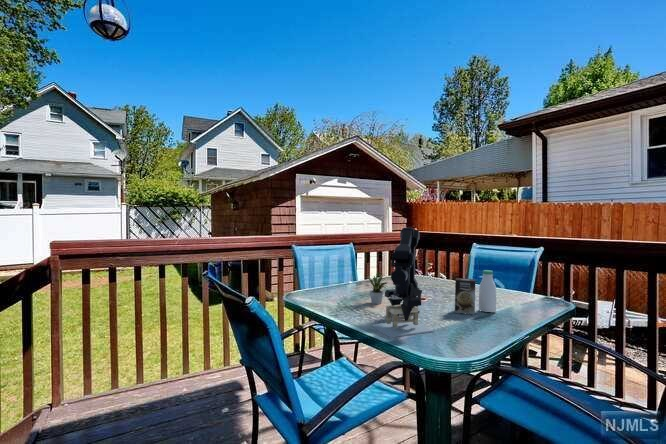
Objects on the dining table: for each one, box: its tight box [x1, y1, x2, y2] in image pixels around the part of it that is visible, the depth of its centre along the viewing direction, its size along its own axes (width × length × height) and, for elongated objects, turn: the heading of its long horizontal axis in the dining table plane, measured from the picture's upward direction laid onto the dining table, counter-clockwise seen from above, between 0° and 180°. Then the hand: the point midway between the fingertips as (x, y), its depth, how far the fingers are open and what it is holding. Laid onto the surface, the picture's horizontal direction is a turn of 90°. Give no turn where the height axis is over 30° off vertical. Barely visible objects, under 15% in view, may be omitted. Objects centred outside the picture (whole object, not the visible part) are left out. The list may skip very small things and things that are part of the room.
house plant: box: [364, 273, 389, 305], centre depth 180 cm, size 14×14×16 cm
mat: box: [371, 321, 435, 339], centre depth 139 cm, size 20×15×1 cm
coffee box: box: [454, 277, 476, 315], centre depth 164 cm, size 9×6×16 cm
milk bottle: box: [478, 269, 497, 313], centre depth 166 cm, size 8×8×20 cm
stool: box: [385, 304, 419, 328], centre depth 139 cm, size 6×11×7 cm, turn 111°
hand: (402, 318), depth 139 cm, fingers closed on stool, 6 cm apart
